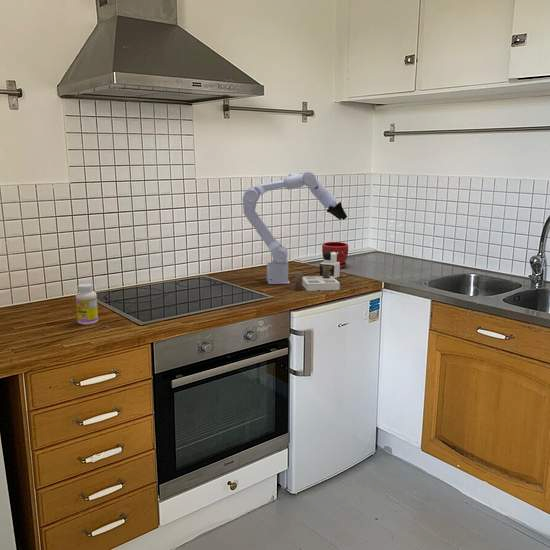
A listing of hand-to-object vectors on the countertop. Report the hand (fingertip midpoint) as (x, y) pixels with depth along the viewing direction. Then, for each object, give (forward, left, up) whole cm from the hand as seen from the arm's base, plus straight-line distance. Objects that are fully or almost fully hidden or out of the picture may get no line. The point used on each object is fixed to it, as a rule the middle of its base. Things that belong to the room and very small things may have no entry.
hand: (343, 218), depth 240 cm
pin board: (-11, -6, -29) cm, 31 cm away
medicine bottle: (-3, +11, -29) cm, 31 cm away
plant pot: (+5, +35, -29) cm, 46 cm away
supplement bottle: (-99, -49, -29) cm, 114 cm away
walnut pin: (-21, -11, -29) cm, 37 cm away
